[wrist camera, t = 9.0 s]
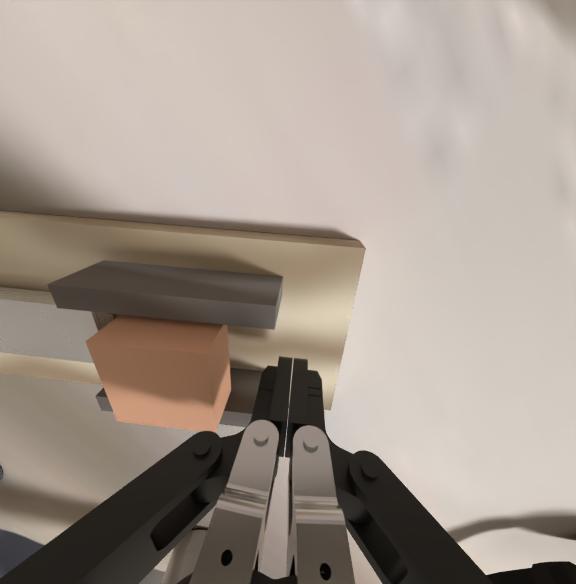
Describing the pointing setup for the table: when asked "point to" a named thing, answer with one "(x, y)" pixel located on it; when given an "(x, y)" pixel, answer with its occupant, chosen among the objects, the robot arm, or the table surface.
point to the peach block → (164, 371)
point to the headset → (538, 574)
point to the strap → (46, 326)
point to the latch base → (190, 291)
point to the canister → (1, 475)
